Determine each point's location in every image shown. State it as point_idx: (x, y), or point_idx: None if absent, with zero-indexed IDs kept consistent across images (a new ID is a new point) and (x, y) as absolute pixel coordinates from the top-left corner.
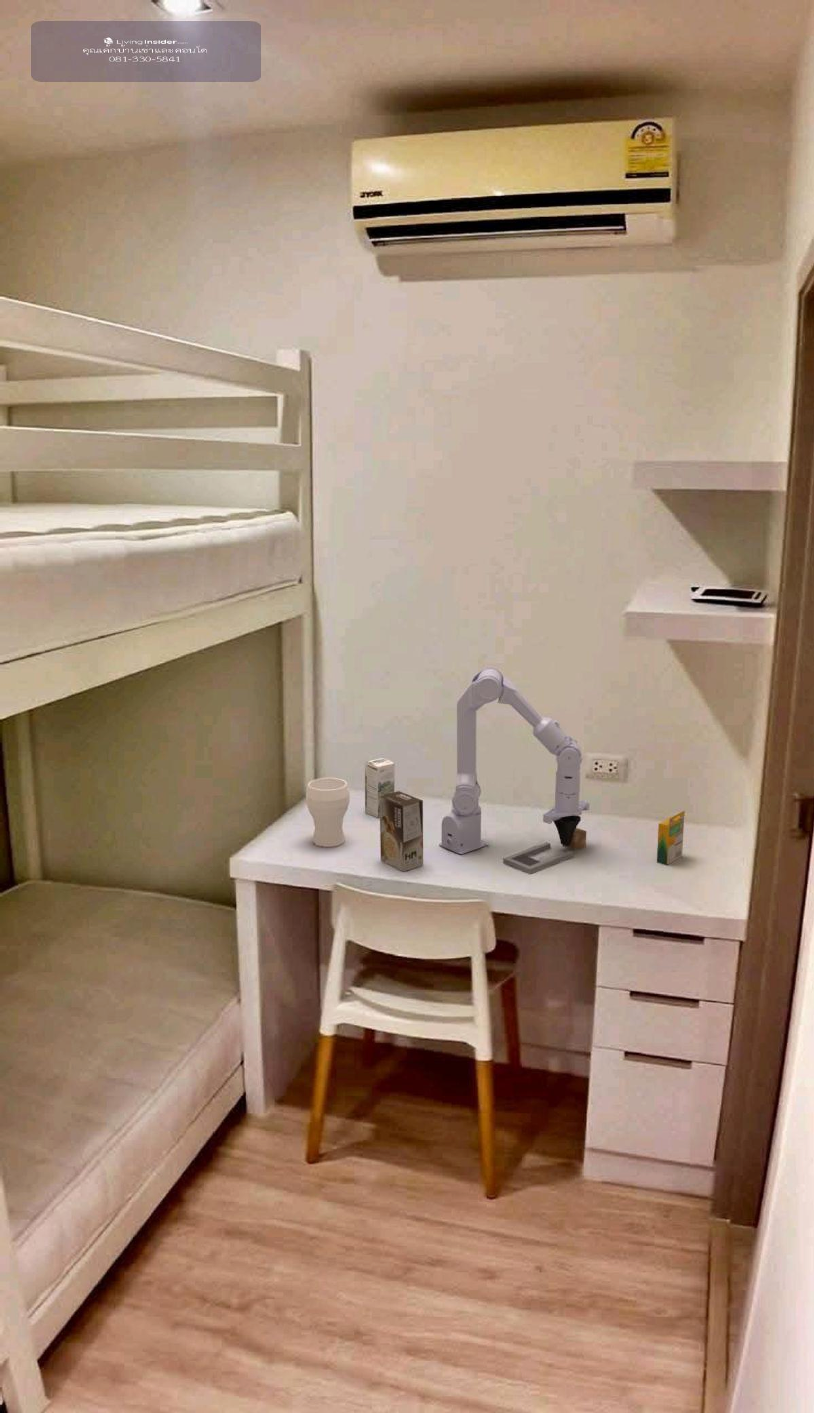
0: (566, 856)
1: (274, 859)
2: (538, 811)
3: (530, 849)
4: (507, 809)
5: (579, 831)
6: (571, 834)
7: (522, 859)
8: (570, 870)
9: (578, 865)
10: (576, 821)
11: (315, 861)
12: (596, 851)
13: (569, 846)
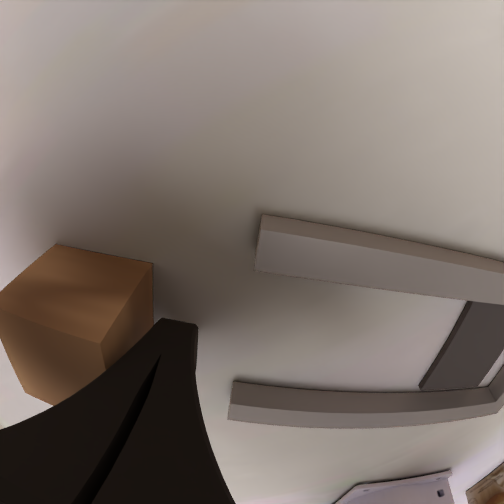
0: (350, 238)
1: None
2: None
3: (376, 421)
4: None
5: (29, 344)
6: (139, 376)
7: (458, 383)
8: (487, 117)
9: (389, 98)
10: (46, 486)
11: None
12: (59, 144)
13: (148, 315)
